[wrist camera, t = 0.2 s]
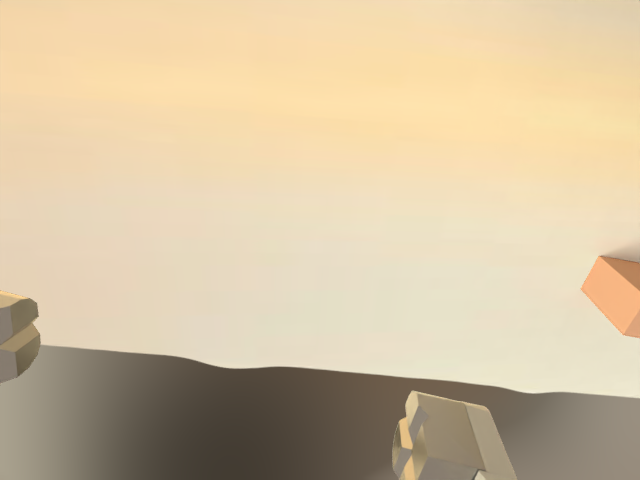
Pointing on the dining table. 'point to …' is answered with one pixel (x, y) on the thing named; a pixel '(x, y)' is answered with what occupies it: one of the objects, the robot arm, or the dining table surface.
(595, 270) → the terracotta block
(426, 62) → the dining table surface
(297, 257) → the dining table surface
